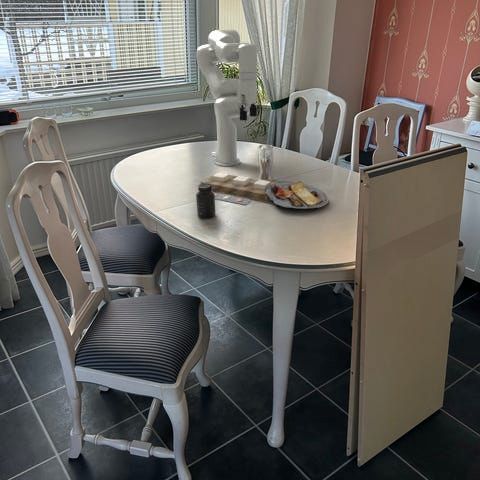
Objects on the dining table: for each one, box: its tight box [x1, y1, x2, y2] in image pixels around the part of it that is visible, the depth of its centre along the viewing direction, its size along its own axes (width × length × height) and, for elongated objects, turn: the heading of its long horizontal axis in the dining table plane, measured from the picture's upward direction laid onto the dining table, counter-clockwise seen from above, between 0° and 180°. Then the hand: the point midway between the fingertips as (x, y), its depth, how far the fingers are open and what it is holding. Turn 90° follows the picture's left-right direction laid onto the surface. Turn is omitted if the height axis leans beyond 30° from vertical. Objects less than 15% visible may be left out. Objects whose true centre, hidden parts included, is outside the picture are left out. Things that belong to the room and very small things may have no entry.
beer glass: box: [257, 144, 275, 182], centre depth 208 cm, size 7×7×15 cm
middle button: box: [233, 175, 251, 186], centre depth 198 cm, size 5×5×3 cm
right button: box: [254, 179, 272, 190], centre depth 193 cm, size 5×5×3 cm
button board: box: [200, 174, 277, 203], centre depth 198 cm, size 32×14×3 cm, turn 60°
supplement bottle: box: [195, 183, 216, 220], centre depth 172 cm, size 7×7×12 cm
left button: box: [212, 172, 230, 183], centre depth 202 cm, size 5×5×3 cm
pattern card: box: [213, 192, 252, 206], centre depth 190 cm, size 20×5×1 cm, turn 60°
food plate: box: [265, 180, 329, 210], centre depth 186 cm, size 25×23×4 cm
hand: (248, 118), depth 201 cm, fingers open, 9 cm apart
